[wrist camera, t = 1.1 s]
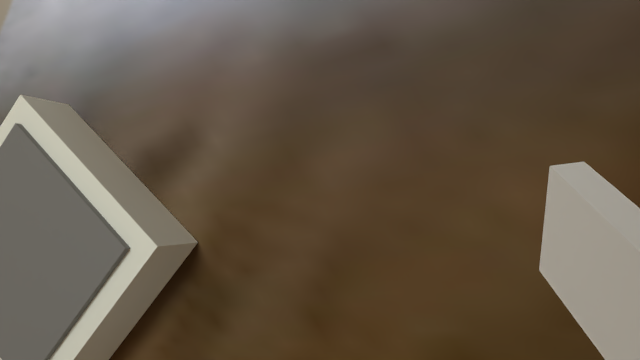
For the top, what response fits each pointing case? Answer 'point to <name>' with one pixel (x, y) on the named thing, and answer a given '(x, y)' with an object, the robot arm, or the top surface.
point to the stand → (75, 239)
